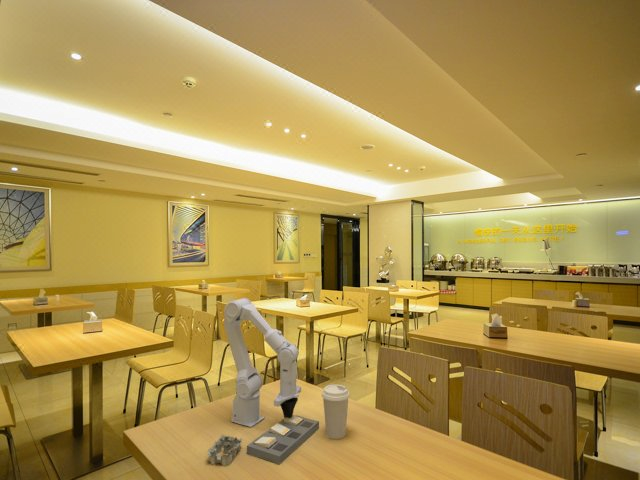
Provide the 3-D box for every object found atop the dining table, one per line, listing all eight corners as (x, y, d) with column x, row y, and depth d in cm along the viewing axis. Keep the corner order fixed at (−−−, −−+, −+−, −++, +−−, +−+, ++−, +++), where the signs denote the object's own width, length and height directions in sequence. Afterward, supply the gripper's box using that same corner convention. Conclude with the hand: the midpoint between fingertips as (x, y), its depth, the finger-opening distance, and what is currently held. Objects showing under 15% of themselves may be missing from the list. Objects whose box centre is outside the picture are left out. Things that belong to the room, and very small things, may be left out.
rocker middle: (270, 431, 115) (270, 427, 115) (277, 426, 119) (277, 422, 119) (282, 438, 113) (283, 434, 113) (289, 433, 116) (290, 429, 116)
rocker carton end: (255, 446, 108) (254, 442, 108) (263, 440, 111) (262, 436, 112) (268, 447, 106) (267, 443, 106) (276, 441, 109) (275, 437, 109)
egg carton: (228, 468, 100) (228, 453, 100) (204, 465, 102) (204, 450, 102) (244, 447, 111) (244, 434, 111) (222, 445, 112) (222, 432, 112)
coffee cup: (348, 443, 112) (348, 395, 113) (319, 440, 114) (318, 393, 115) (351, 428, 122) (351, 384, 122) (324, 426, 124) (324, 382, 124)
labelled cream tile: (283, 421, 122) (284, 418, 122) (290, 417, 126) (290, 413, 126) (296, 427, 120) (296, 423, 120) (302, 422, 123) (302, 418, 123)
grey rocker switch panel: (246, 453, 107) (246, 445, 107) (290, 420, 128) (290, 413, 128) (279, 464, 101) (279, 455, 101) (319, 428, 122) (319, 421, 122)
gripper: (286, 389, 116) (286, 431, 115) (308, 375, 129) (308, 413, 128) (268, 385, 119) (268, 426, 119) (292, 372, 132) (291, 409, 132)
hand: (288, 419), depth 124 cm, fingers closed, pressing on labelled cream tile
